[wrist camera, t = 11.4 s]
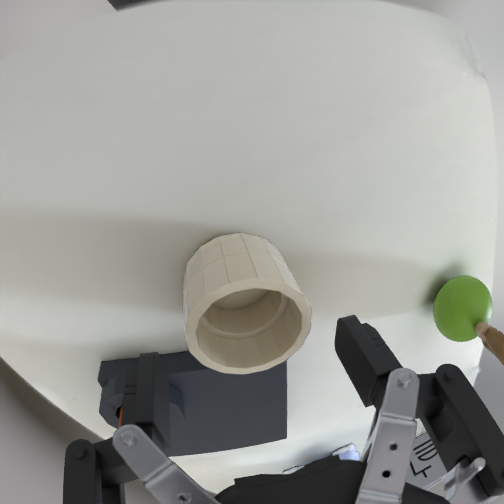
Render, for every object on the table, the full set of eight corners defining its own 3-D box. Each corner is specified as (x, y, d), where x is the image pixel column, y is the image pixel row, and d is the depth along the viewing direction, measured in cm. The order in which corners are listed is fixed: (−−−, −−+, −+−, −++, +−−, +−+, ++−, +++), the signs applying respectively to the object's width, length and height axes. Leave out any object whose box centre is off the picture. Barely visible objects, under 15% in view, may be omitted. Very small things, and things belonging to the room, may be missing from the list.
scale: (93, 357, 19) (84, 395, 16) (279, 329, 21) (293, 367, 18) (151, 442, 26) (151, 471, 23) (282, 423, 27) (291, 451, 24)
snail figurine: (442, 323, 25) (513, 410, 15) (411, 306, 23) (497, 413, 12) (475, 279, 23) (556, 358, 13) (450, 254, 21) (553, 347, 11)
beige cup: (174, 238, 16) (171, 292, 12) (280, 220, 17) (313, 267, 13) (194, 320, 19) (199, 382, 15) (284, 304, 20) (309, 360, 15)
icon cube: (390, 451, 42) (412, 493, 33) (436, 425, 42) (460, 464, 33) (384, 466, 47) (402, 502, 38) (426, 444, 47) (445, 478, 38)
